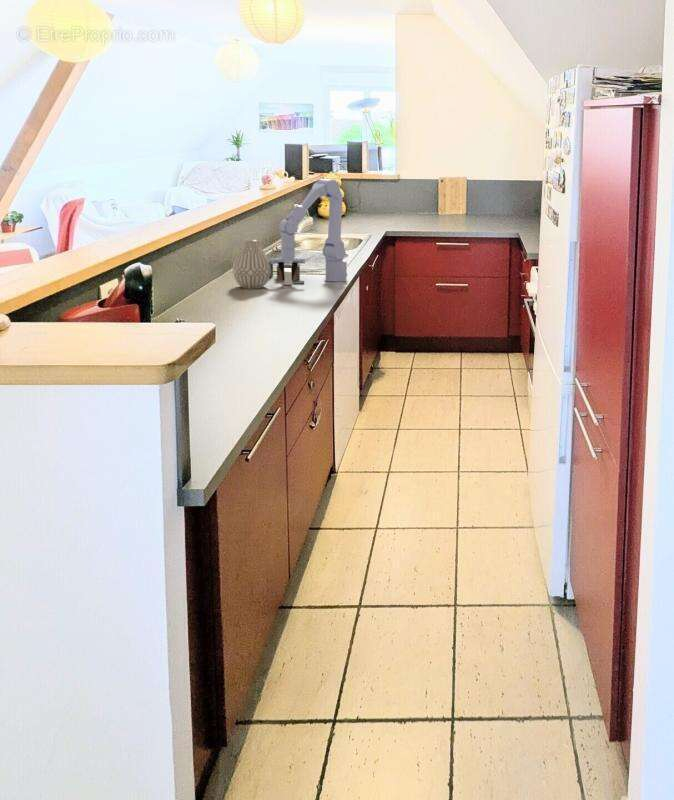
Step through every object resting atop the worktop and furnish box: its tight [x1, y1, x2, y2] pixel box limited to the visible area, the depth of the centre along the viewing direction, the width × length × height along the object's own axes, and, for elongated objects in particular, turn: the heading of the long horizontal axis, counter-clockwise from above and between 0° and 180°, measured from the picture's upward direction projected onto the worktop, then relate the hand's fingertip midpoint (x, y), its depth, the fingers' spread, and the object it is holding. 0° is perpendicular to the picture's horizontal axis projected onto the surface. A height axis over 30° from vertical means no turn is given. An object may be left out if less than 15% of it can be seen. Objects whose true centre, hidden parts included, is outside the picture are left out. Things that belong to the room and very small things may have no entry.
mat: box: [292, 280, 305, 285], centre depth 427 cm, size 5×6×1 cm
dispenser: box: [276, 263, 301, 281], centre depth 437 cm, size 10×8×7 cm
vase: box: [232, 238, 271, 290], centre depth 413 cm, size 16×16×20 cm
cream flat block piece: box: [283, 268, 293, 286], centre depth 425 cm, size 3×12×6 cm, turn 4°
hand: (288, 280), depth 422 cm, fingers closed on cream flat block piece, 3 cm apart
